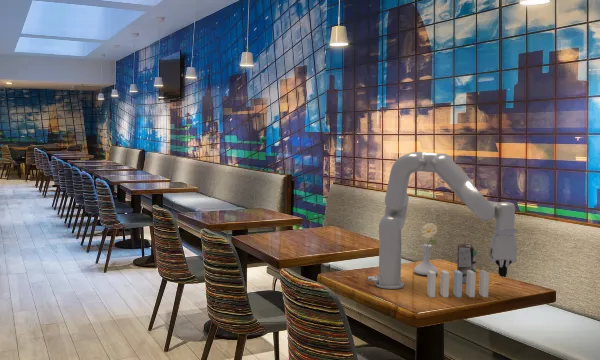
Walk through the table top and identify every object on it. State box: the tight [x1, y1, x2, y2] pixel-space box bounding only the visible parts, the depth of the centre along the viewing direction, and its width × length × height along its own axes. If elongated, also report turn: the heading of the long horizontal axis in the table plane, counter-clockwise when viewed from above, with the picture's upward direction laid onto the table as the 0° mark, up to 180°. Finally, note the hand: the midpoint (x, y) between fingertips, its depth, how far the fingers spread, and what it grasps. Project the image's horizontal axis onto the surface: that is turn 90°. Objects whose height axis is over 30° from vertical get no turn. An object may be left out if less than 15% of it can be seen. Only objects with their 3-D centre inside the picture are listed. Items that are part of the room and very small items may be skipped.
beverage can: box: [472, 247, 477, 273], centre depth 283 cm, size 8×8×12 cm
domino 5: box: [478, 269, 490, 298], centre depth 245 cm, size 2×5×10 cm, turn 3°
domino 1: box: [426, 270, 437, 298], centre depth 243 cm, size 2×5×10 cm, turn 3°
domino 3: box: [452, 269, 463, 298], centre depth 244 cm, size 2×5×10 cm, turn 2°
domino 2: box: [439, 269, 450, 298], centre depth 244 cm, size 2×5×10 cm, turn 3°
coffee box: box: [456, 243, 474, 284], centre depth 268 cm, size 9×6×16 cm
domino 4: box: [465, 270, 477, 298], centre depth 244 cm, size 2×5×10 cm, turn 3°
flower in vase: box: [413, 222, 439, 276], centre depth 279 cm, size 13×11×25 cm
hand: (502, 276), depth 245 cm, fingers closed
